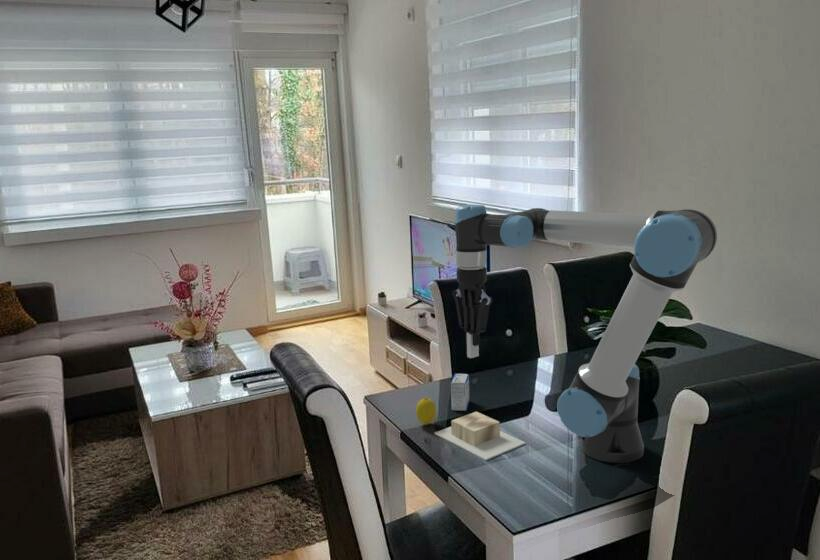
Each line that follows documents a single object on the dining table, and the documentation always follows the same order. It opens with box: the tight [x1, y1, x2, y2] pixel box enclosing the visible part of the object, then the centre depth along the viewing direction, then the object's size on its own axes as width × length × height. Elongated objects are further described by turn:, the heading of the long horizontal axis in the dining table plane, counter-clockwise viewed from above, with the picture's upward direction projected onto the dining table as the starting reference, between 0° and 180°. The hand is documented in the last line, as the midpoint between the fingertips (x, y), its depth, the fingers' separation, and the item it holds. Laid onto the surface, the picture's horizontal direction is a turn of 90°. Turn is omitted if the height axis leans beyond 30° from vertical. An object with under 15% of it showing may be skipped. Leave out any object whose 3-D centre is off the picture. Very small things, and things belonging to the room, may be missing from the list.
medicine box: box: [450, 373, 470, 412], centre depth 195 cm, size 8×4×9 cm, turn 168°
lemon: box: [415, 397, 437, 426], centre depth 183 cm, size 6×6×8 cm
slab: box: [450, 411, 501, 446], centre depth 175 cm, size 9×4×9 cm
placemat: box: [433, 426, 526, 462], centre depth 174 cm, size 20×14×1 cm
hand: (472, 356), depth 171 cm, fingers closed
